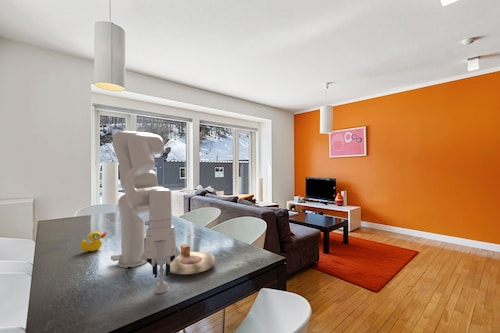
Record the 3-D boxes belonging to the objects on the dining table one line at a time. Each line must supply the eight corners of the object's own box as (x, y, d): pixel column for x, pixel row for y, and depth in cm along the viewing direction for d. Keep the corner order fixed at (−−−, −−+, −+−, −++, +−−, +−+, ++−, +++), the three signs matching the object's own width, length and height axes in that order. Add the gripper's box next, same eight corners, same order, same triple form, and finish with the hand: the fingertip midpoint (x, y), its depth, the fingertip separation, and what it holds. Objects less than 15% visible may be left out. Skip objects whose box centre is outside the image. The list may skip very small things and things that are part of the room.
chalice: (156, 284, 89) (155, 235, 89) (174, 284, 89) (174, 235, 89) (147, 294, 82) (146, 242, 82) (167, 294, 81) (166, 242, 81)
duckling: (106, 247, 132) (105, 229, 132) (107, 249, 127) (106, 231, 127) (80, 251, 125) (80, 232, 125) (80, 254, 121) (80, 235, 121)
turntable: (174, 279, 89) (173, 264, 89) (161, 261, 106) (161, 248, 106) (222, 266, 100) (222, 252, 100) (204, 252, 116) (204, 240, 116)
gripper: (133, 228, 79) (134, 283, 79) (184, 223, 84) (185, 276, 84) (137, 223, 86) (138, 274, 86) (184, 219, 91) (185, 267, 91)
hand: (161, 274), depth 85 cm, fingers closed on chalice, 3 cm apart
